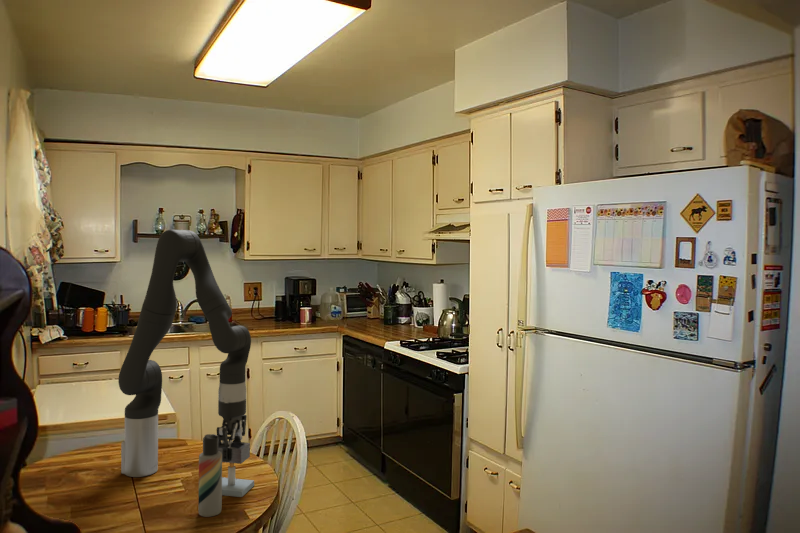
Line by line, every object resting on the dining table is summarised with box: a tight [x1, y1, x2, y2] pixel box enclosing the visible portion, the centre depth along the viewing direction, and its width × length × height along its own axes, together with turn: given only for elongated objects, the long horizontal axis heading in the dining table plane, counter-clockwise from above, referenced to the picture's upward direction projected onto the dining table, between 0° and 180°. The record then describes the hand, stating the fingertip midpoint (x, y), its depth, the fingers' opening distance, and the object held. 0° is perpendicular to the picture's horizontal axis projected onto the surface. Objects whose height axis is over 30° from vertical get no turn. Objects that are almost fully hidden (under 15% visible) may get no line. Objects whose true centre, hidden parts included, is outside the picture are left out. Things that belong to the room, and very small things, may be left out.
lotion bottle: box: [197, 433, 223, 518], centre depth 152 cm, size 6×6×20 cm
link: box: [218, 440, 251, 465], centre depth 166 cm, size 8×6×4 cm
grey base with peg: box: [222, 463, 255, 498], centre depth 166 cm, size 10×8×8 cm
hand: (231, 457), depth 166 cm, fingers closed on link, 5 cm apart
